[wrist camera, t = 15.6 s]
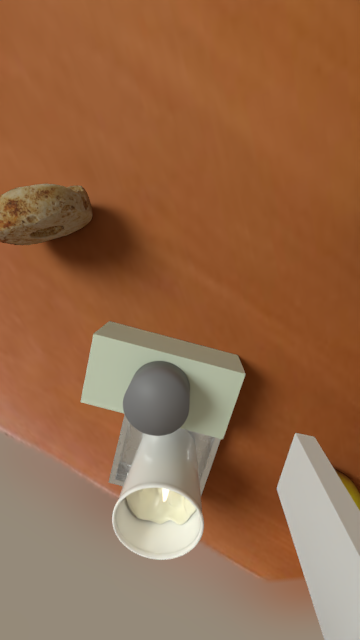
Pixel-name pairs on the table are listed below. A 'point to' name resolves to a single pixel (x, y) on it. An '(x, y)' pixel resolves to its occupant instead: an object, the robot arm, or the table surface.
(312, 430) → the table surface
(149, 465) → the candle holder
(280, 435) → the table surface
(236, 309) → the table surface
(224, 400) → the push-button box
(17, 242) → the stone disc
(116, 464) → the gray square tray
